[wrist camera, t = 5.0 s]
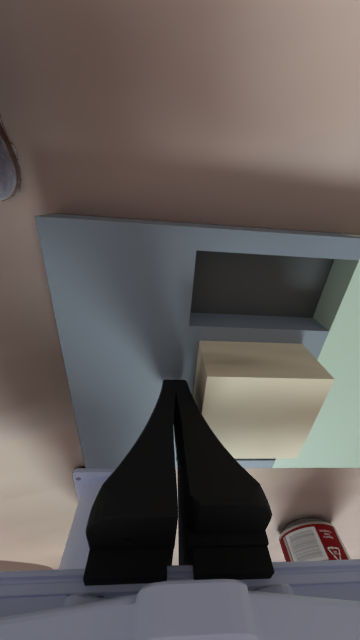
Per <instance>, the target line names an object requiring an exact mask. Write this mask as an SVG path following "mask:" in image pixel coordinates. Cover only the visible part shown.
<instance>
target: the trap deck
mask: <svg viewBox="0 0 360 640" xmlns="http://www.w3.org/2000/svg"><path fill="white" fill-rule="evenodd" d="M35 219H36V224H37V229H38V234H39V239H40V244H41V249H42V254H43V259H44V264H45V269H46V274H47V279H48V284H49V289H50V294H51V299H52V304H53V309H54V314H55V319H56V324H57V329H58V334H59V339H60V344H61V349H62V354H63V359H64V364H65V369H66V374H67V379H68V384H69V389H70V394H71V399H72V404H73V409H74V414H75V419H76V424H77V429H78V434H79V439H80V444H81V449H82V454H83V459H84V464H85V469H116V468H117V467H118V466H119V464H120V463H121V462H122V460H123V459H124V458H125V456H126V455H127V454H128V453H129V451H130V450H131V448H132V447H133V445H134V444H135V442H136V441H137V439H138V438H139V436H140V435H141V433H142V431H143V429H144V428H145V426H146V424H147V422H148V420H149V418H150V416H151V414H152V412H153V410H154V408H155V405H156V403H157V400H158V398H159V395H160V392H161V388H162V383H163V380H165V379H169V380H186V381H187V383H188V386H189V389H190V392H191V394H192V396H193V391H194V383H195V374H196V366H197V358H198V349H199V341H229V342H262V343H294V344H303V345H304V346H305V347H306V349H307V350H308V351H309V352H310V353H311V354H312V355H313V356H314V357H315V358H316V359H317V360H318V362H319V363H320V364H321V365H322V366H323V367H324V368H325V369H326V370H327V371H328V372H329V373H330V375H331V376H332V377H333V378H334V379H335V380H334V382H333V384H332V386H331V388H330V390H329V393H328V395H327V397H326V399H325V401H324V403H323V405H322V407H321V409H320V411H319V414H318V416H317V418H316V420H315V422H314V424H313V426H312V428H311V430H310V432H309V435H308V437H307V439H306V441H305V443H304V445H303V447H302V449H301V451H300V453H299V455H298V458H294V459H235V460H236V461H237V462H238V463H239V464H240V465H241V466H242V467H243V468H360V235H354V234H340V233H325V232H311V231H297V230H282V229H268V228H254V227H239V226H225V225H211V224H196V223H182V222H168V221H153V220H139V219H125V218H110V217H96V216H82V215H67V214H48V215H40V216H35ZM173 429H174V426H173ZM174 452H175V468H178V467H177V455H176V446H175V436H174Z"/></svg>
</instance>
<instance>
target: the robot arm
mask: <svg viewBox="0 0 360 640" xmlns="http://www.w3.org/2000/svg"><path fill="white" fill-rule="evenodd" d="M173 426H174V429H173ZM174 436H175V446H176V455H177V467H178V499H177V485H176V470H175V452H174ZM72 476H73V480H74V484H75V488H76V492H77V496H78V500H79V503H78V506H77V509H76V513H75V516H74V519H73V523H72V526H71V529H70V533H69V536H68V539H67V543H66V546H65V549H64V553H63V556H62V559H61V563H60V566H59V570H34V571H5V572H0V640H360V559H353V560H324V561H295V562H272V561H271V558H270V554H269V551H268V547H267V545H268V544H269V543H268V538H267V535H266V531H265V530H266V528H267V526H268V524H269V522H270V520H271V517H272V513H271V509H270V506H269V503H268V501H267V498H266V496H265V494H264V492H263V490H262V488H261V486H260V484H259V483H258V482H257V481H256V480H255V479H254V478H253V477H252V476H251V475H250V474H249V473H248V472H247V471H246V470H245V469H244V468H243V467H242V466H241V465H240V464H239V463H238V462H237V461H236V460H235V459H234V458H233V456H232V455H231V454H230V453H229V452H228V451H227V449H226V448H225V447H224V446H223V445H222V443H221V442H220V441H219V439H218V438H217V437H216V435H215V434H214V433H213V431H212V430H211V428H210V427H209V425H208V424H207V422H206V420H205V419H204V417H203V415H202V414H201V412H200V410H199V408H198V406H197V404H196V402H195V400H194V398H193V396H192V394H191V392H190V389H189V386H188V383H187V381H186V380H169V379H165V380H163V383H162V388H161V392H160V395H159V398H158V400H157V403H156V405H155V408H154V410H153V412H152V414H151V416H150V418H149V420H148V422H147V424H146V426H145V428H144V429H143V431H142V433H141V435H140V436H139V438H138V439H137V441H136V442H135V444H134V445H133V447H132V448H131V450H130V451H129V453H128V454H127V455H126V456H125V458H124V459H123V460H122V462H121V463H120V464H119V466H118V467H117V468H116V469H85V468H77V469H75V470H74V471H73V474H72ZM177 520H178V525H179V566H172V558H173V549H174V546H175V537H176V529H177Z"/></svg>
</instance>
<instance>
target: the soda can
mask: <svg viewBox="0 0 360 640" xmlns="http://www.w3.org/2000/svg"><path fill="white" fill-rule="evenodd" d="M279 541H280V544H281V547H282V551H283V554H284V557H285V560H286V562H295V561H324V560H351V559H350V557H349V555H348V553H347V551H346V549H345V547H344V545H343V543H342V541H341V539H340V537H339V535H338V533H337V531H336V529H335V527H334V526H333V525H332V524H330V523H328V522H325V521H322V520H320V519H316V518H305V519H300V520H297V521H294V522H292V523H290V524H289V525H287V526H286V527H285V529H284V531H283V532H282V533H281V535H280V537H279Z"/></svg>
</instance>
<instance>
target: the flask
mask: <svg viewBox="0 0 360 640" xmlns="http://www.w3.org/2000/svg"><path fill="white" fill-rule="evenodd" d="M7 139H8V138H7V136H6V135H5V130H4V127H3V123H2V121H1V120H0V200H2V201H3V200H6V199H8V198H10V197H12V196H14V195H16V194H17V193H19V191H20V183H21V179H20V167H19V164H18V159H17V152H16V150H15V147H14V145H13V144H10V143H9V141H8V140H7Z"/></svg>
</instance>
